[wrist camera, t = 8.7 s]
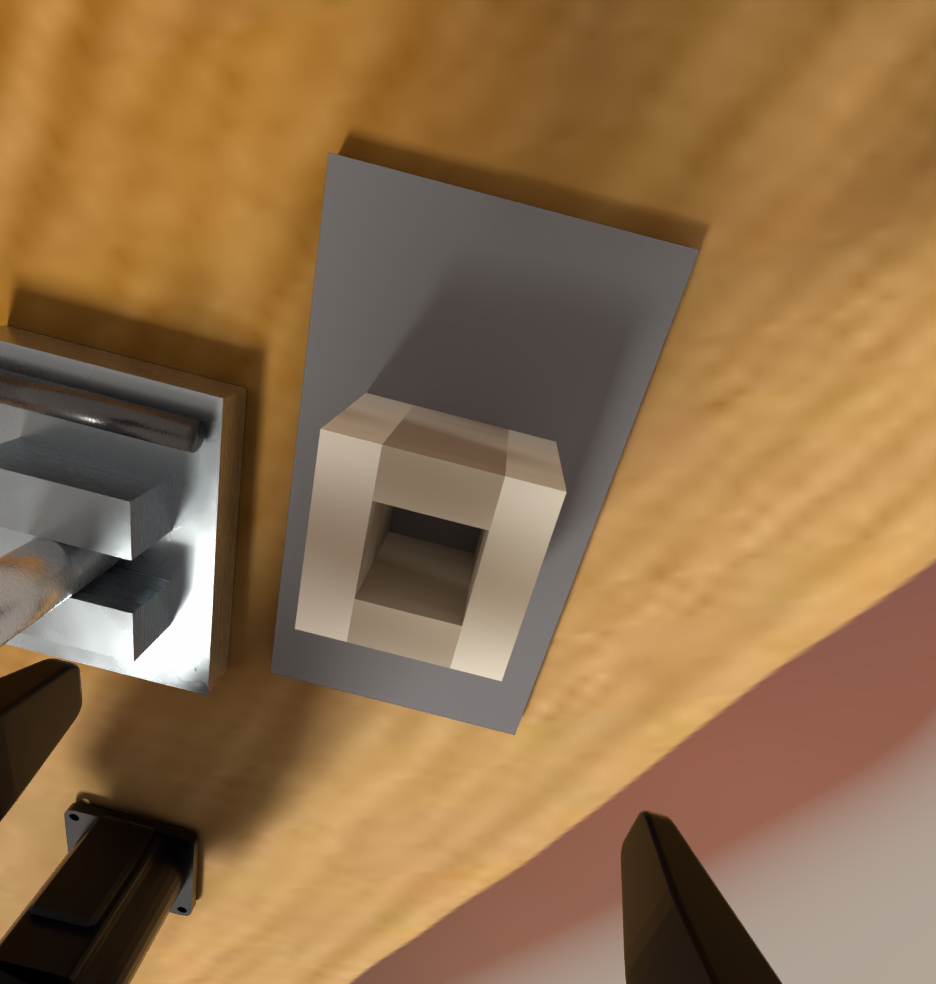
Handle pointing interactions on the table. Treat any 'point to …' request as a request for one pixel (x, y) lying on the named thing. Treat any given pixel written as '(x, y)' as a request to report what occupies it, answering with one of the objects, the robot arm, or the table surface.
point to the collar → (417, 563)
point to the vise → (117, 510)
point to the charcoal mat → (472, 385)
